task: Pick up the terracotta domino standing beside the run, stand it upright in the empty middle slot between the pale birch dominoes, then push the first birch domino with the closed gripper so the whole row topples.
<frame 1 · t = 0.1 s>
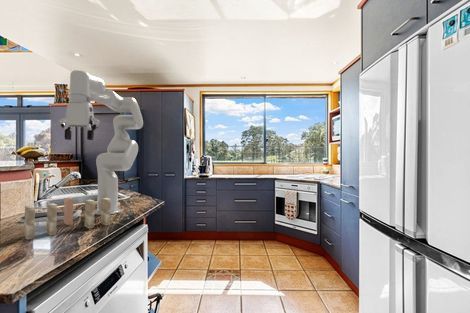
hand: (79, 139, 107), 37 cm above the counter, tool pointing down, fingers open, 9 cm apart
birch domino 5: (29, 237, 89), on the counter
birch domino 1: (105, 223, 108), on the counter
birch domino 2: (89, 226, 103), on the counter
terracotta domino: (68, 223, 108), on the counter
birch domino 4: (51, 233, 94), on the counter
picture frame: (53, 218, 120), on the counter
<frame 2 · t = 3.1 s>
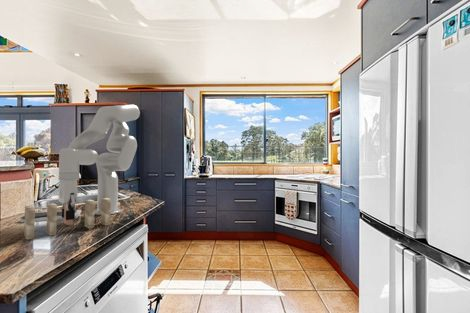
hand: (68, 217, 108), 2 cm above the counter, tool pointing down, fingers closed on terracotta domino, 4 cm apart
terracotta domino: (68, 223, 108), on the counter, touching gripper
everything else where it was.
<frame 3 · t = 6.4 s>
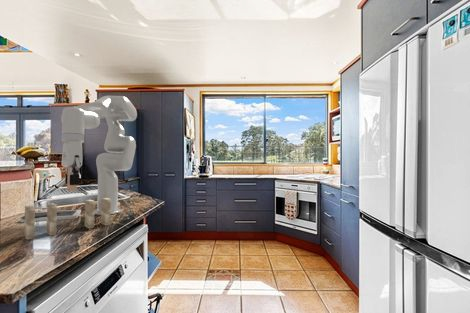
hand: (72, 183, 99), 18 cm above the counter, tool pointing down, fingers closed on terracotta domino, 4 cm apart
terracotta domino: (71, 189, 98), point 16 cm above the counter, touching gripper
everything else where it was.
when the fingers open (3 cm above the counter, at t = 10.0 s): terracotta domino stays where it is, on the counter.
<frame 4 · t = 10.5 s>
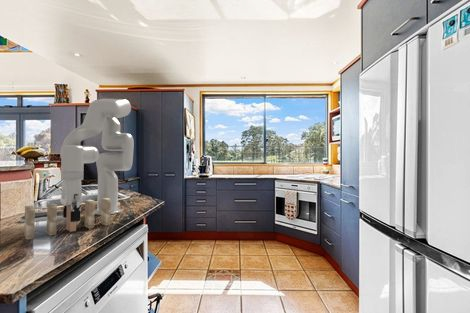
hand: (71, 219, 98), 4 cm above the counter, tool pointing down, fingers open, 9 cm apart
terracotta domino: (71, 229, 98), on the counter
everything else where it was.
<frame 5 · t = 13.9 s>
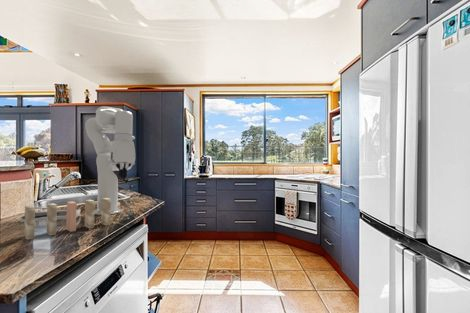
hand: (122, 177, 113), 20 cm above the counter, tool pointing down, fingers closed
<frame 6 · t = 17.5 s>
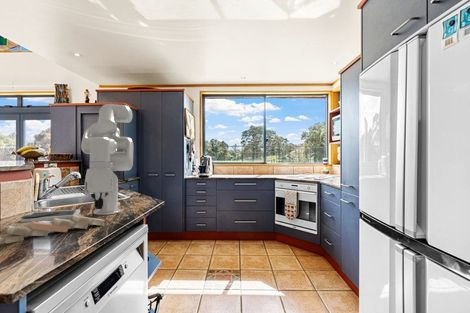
hand: (98, 208, 106), 7 cm above the counter, tool pointing down, fingers closed
birch domino 5: (22, 236, 87), point 1 cm above the counter, tilted 90°, touching birch domino 4
birch domino 1: (101, 222, 107), point 1 cm above the counter, tilted 72°, touching birch domino 2
birch domino 2: (85, 225, 102), point 1 cm above the counter, tilted 72°, touching birch domino 1, terracotta domino
terracotta domino: (65, 228, 97), point 1 cm above the counter, tilted 72°, touching birch domino 2, birch domino 4
birch domino 4: (46, 232, 92), point 1 cm above the counter, tilted 74°, touching birch domino 5, terracotta domino
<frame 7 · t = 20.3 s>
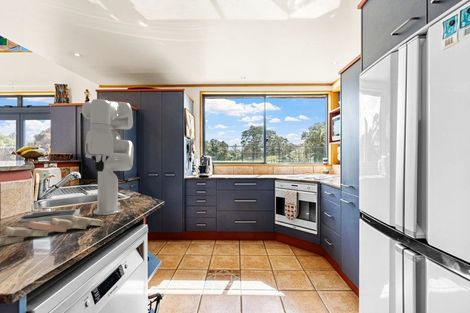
hand: (99, 171, 106), 23 cm above the counter, tool pointing down, fingers closed
birch domino 1: (100, 222, 107), point 1 cm above the counter, tilted 72°
birch domino 2: (84, 225, 102), point 1 cm above the counter, tilted 72°, touching terracotta domino
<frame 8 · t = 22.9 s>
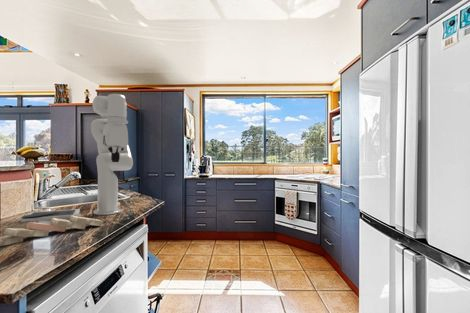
hand: (115, 161, 112), 27 cm above the counter, tool pointing down, fingers closed
birch domino 1: (100, 222, 106), point 1 cm above the counter, tilted 71°, touching birch domino 2
birch domino 2: (83, 225, 102), point 1 cm above the counter, tilted 71°, touching birch domino 1, terracotta domino
terracotta domino: (61, 228, 97), point 1 cm above the counter, tilted 72°, touching birch domino 2, birch domino 4
at the end: birch domino 5 tilted 90°; terracotta domino tilted 72°; terracotta domino inside the target area (3.0 cm from its centre), point 1.0 cm above the counter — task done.
